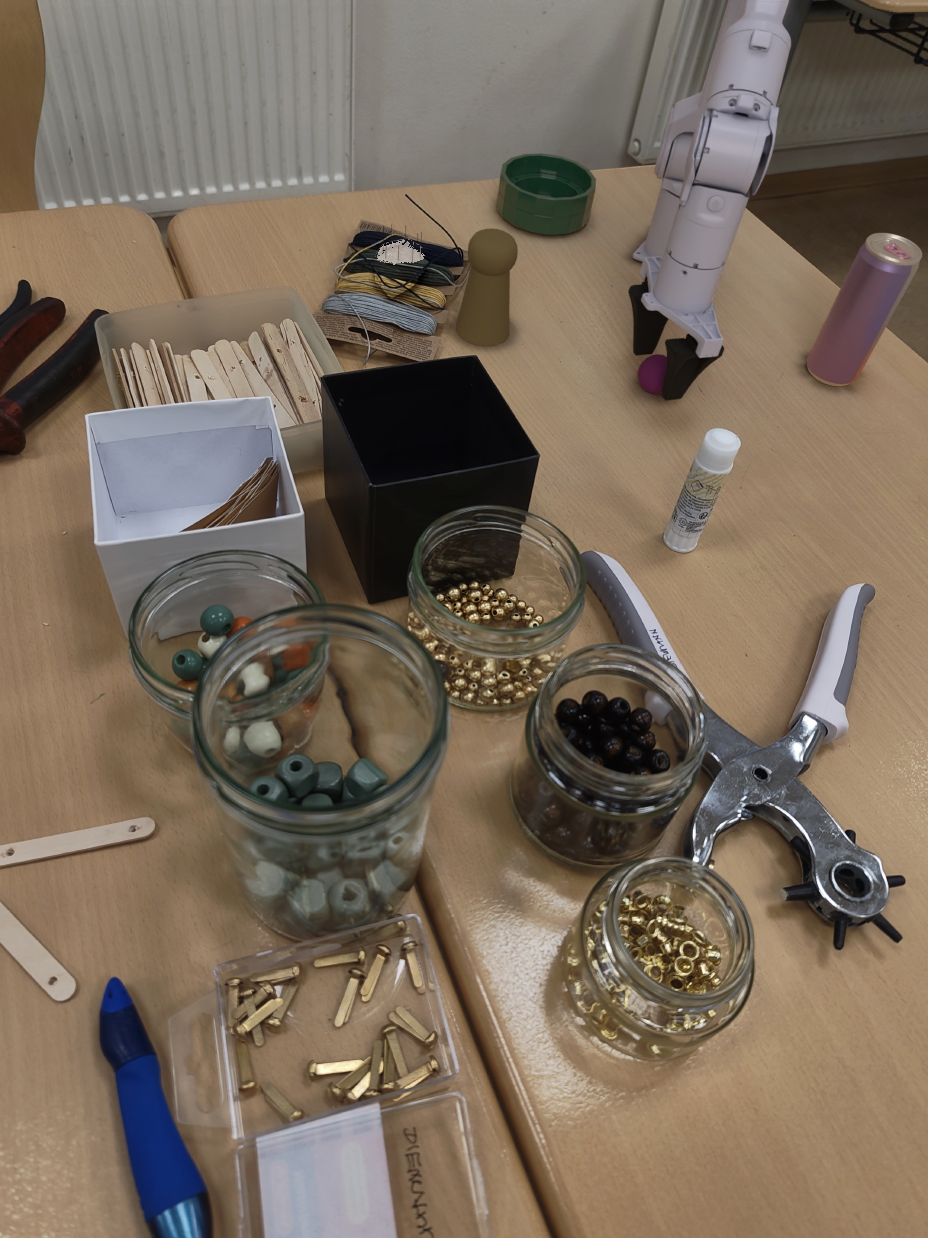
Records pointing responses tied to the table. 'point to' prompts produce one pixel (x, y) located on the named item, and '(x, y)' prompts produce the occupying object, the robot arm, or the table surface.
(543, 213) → the bowl
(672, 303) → the robot arm
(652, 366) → the ball
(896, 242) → the beverage can
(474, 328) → the olive brown pawn
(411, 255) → the pincushion
